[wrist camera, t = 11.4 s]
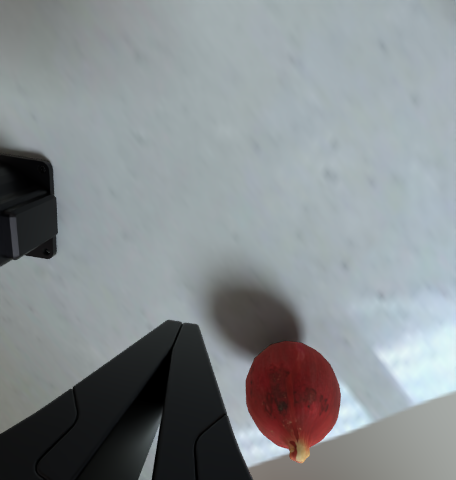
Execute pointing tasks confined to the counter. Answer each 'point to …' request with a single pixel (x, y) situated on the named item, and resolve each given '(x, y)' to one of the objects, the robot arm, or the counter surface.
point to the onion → (293, 396)
